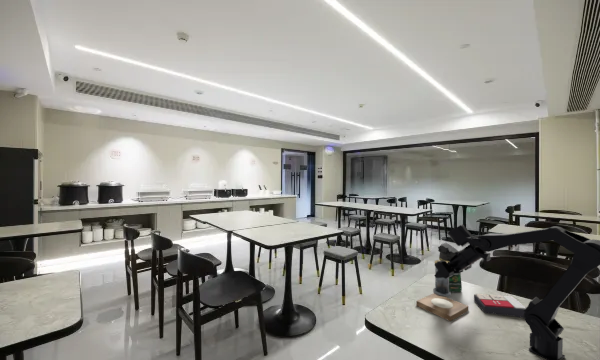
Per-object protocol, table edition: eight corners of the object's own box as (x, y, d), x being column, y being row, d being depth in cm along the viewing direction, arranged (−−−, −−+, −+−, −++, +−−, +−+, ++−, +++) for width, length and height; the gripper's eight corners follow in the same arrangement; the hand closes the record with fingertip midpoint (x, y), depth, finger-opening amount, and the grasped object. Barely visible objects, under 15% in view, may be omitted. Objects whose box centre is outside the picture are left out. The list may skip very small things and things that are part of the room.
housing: (454, 297, 103) (454, 265, 102) (438, 297, 103) (438, 265, 102) (445, 289, 109) (445, 259, 109) (430, 289, 109) (430, 259, 109)
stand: (468, 310, 104) (468, 305, 104) (450, 321, 96) (450, 315, 96) (434, 297, 116) (434, 292, 116) (416, 305, 108) (416, 300, 108)
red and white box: (473, 292, 113) (513, 295, 109) (473, 302, 113) (513, 305, 109) (484, 304, 103) (528, 307, 99) (484, 315, 103) (529, 318, 99)
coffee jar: (443, 292, 120) (443, 253, 120) (436, 285, 128) (436, 248, 128) (465, 293, 119) (465, 254, 119) (456, 286, 127) (456, 249, 127)
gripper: (463, 235, 107) (437, 254, 117) (439, 241, 97) (413, 262, 107) (485, 259, 101) (455, 277, 110) (461, 268, 91) (431, 287, 100)
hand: (438, 275), depth 107 cm, fingers closed on housing, 5 cm apart
